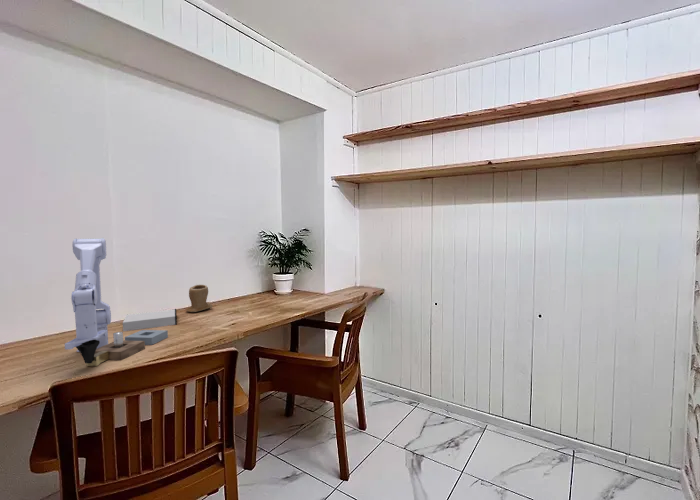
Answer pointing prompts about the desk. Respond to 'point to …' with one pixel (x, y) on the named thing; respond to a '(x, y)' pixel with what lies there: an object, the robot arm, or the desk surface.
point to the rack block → (148, 336)
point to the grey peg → (118, 339)
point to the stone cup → (198, 298)
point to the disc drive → (150, 320)
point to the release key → (99, 358)
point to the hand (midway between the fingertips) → (88, 362)
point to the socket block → (122, 349)
